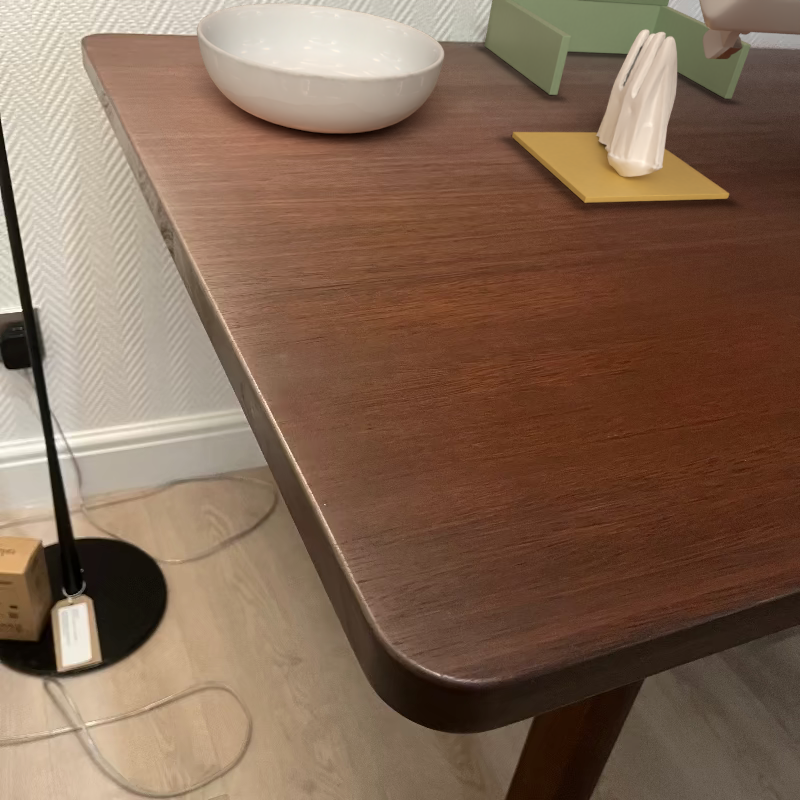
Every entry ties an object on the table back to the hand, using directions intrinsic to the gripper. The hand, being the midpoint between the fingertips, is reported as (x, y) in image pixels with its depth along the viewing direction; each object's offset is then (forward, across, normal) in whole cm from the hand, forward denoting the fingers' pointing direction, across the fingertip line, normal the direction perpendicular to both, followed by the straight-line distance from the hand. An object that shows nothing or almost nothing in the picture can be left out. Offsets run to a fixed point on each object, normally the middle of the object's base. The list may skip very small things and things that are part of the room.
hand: (769, 51), depth 55 cm
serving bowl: (+26, -25, +7) cm, 37 cm away
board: (+18, -1, -1) cm, 18 cm away
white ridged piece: (+18, 0, -1) cm, 18 cm away
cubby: (+38, +14, +19) cm, 45 cm away
